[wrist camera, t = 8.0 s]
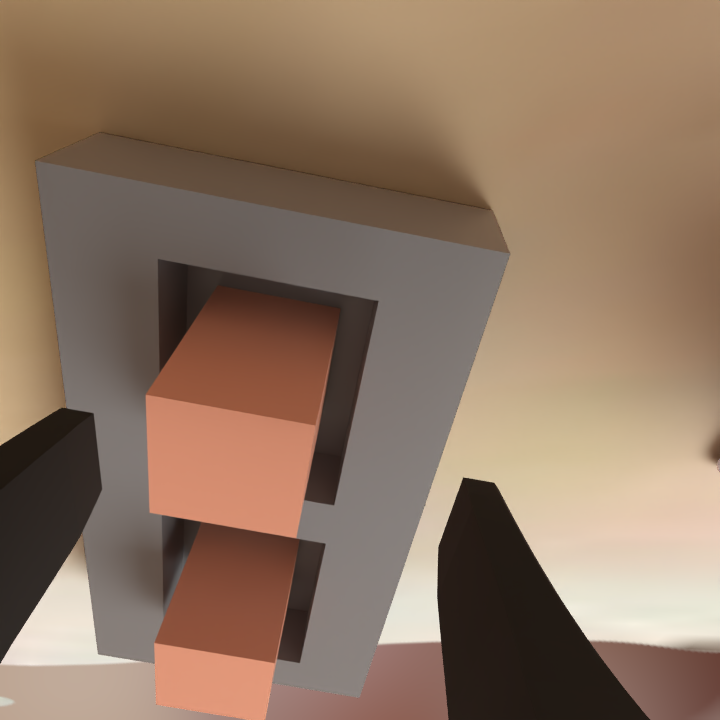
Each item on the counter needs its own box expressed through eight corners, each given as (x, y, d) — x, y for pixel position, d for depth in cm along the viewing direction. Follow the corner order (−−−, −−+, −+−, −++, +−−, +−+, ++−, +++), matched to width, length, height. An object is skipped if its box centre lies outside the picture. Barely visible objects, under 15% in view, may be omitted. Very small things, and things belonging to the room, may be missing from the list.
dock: (492, 210, 17) (536, 319, 12) (364, 627, 29) (353, 786, 23) (99, 132, 17) (-64, 204, 11) (129, 586, 29) (58, 738, 23)
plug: (340, 308, 18) (315, 425, 13) (323, 405, 21) (295, 538, 16) (217, 285, 18) (145, 394, 13) (213, 385, 20) (149, 512, 15)
